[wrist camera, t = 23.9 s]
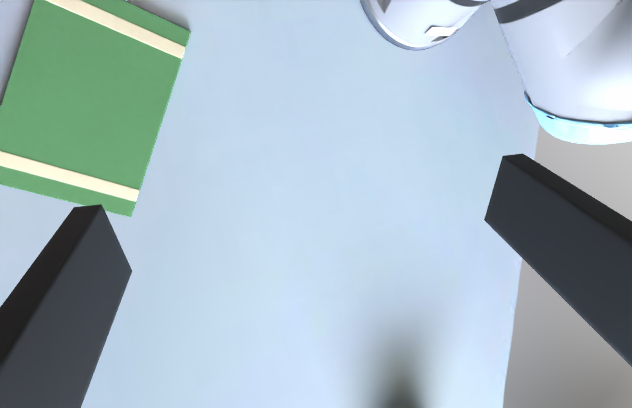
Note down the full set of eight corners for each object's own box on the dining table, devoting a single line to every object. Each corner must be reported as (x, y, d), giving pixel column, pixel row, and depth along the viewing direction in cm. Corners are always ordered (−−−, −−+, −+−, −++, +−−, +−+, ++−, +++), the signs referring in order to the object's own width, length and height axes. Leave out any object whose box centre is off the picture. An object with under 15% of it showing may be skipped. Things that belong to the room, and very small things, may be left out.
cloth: (46, -35, 29) (45, -37, 29) (190, 32, 34) (190, 31, 33) (-21, 178, 29) (-23, 178, 29) (131, 216, 34) (130, 217, 34)
